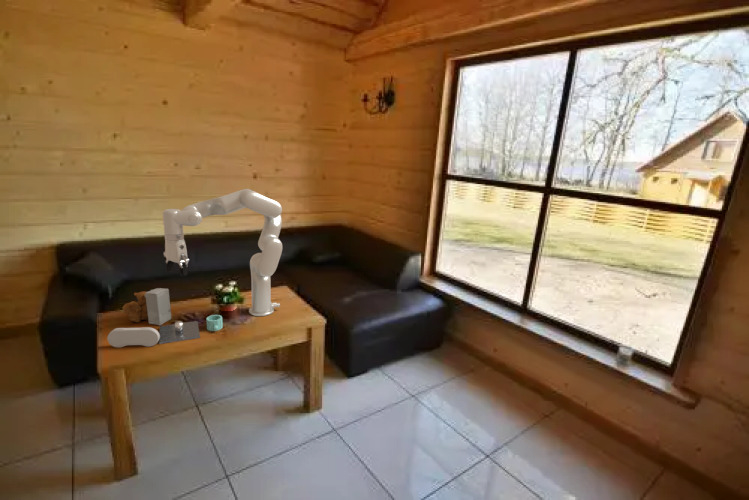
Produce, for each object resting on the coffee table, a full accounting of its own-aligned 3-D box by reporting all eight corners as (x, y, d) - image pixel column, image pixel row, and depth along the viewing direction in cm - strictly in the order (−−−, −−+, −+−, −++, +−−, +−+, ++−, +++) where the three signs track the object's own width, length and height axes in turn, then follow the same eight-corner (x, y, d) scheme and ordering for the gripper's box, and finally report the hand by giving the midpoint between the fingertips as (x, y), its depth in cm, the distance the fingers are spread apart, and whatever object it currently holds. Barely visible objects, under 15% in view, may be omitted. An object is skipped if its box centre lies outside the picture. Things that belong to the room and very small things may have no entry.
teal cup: (221, 323, 186) (221, 314, 185) (224, 331, 178) (223, 321, 177) (206, 325, 183) (205, 316, 181) (208, 334, 175) (207, 324, 174)
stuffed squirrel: (161, 315, 191) (159, 290, 187) (135, 326, 178) (132, 300, 174) (147, 311, 194) (144, 287, 191) (120, 322, 181) (117, 296, 178)
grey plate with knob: (197, 322, 185) (196, 313, 184) (199, 337, 171) (199, 327, 170) (159, 328, 178) (158, 318, 176) (159, 344, 164) (158, 333, 163)
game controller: (161, 343, 165) (159, 326, 162) (159, 346, 162) (157, 328, 160) (110, 345, 161) (108, 327, 159) (108, 348, 159) (105, 329, 157)
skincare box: (160, 325, 180) (157, 294, 176) (146, 323, 181) (143, 292, 177) (172, 318, 188) (170, 288, 184) (160, 316, 189) (157, 286, 185)
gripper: (194, 238, 169) (196, 275, 173) (170, 232, 177) (173, 267, 182) (178, 241, 163) (181, 279, 167) (154, 235, 171) (158, 271, 175)
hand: (177, 273), depth 174 cm, fingers open, 9 cm apart
